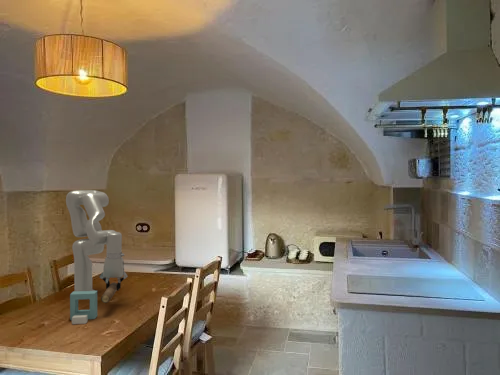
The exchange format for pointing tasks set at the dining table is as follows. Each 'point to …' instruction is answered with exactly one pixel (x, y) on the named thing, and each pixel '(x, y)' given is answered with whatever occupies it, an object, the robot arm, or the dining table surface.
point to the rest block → (79, 319)
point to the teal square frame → (83, 295)
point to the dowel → (109, 293)
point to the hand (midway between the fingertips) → (113, 289)
